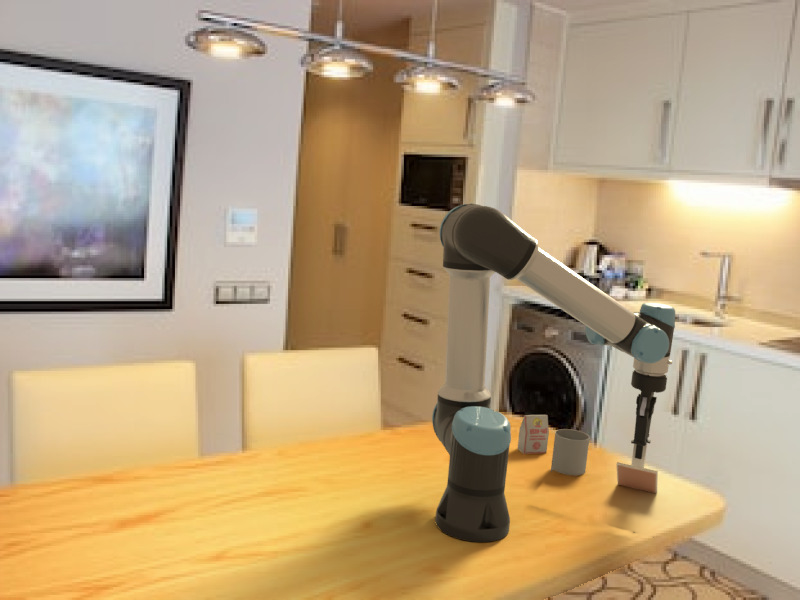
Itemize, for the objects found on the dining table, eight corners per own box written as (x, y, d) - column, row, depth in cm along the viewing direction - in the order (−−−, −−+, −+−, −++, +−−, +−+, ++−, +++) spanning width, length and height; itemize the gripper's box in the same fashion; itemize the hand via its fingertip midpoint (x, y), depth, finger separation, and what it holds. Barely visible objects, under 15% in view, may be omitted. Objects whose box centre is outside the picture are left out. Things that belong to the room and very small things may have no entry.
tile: (617, 461, 173) (616, 465, 173) (657, 470, 169) (657, 474, 169) (618, 482, 181) (617, 485, 180) (657, 491, 177) (656, 495, 176)
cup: (575, 482, 182) (580, 442, 180) (545, 472, 186) (549, 433, 185) (590, 473, 188) (594, 435, 187) (559, 464, 193) (564, 426, 192)
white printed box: (517, 448, 202) (521, 413, 200) (540, 448, 204) (544, 412, 202) (523, 453, 199) (527, 417, 197) (546, 453, 200) (550, 417, 199)
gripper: (664, 381, 162) (650, 483, 166) (670, 368, 174) (657, 465, 178) (628, 374, 165) (615, 475, 169) (637, 363, 177) (624, 457, 181)
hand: (637, 470), depth 174 cm, fingers closed
